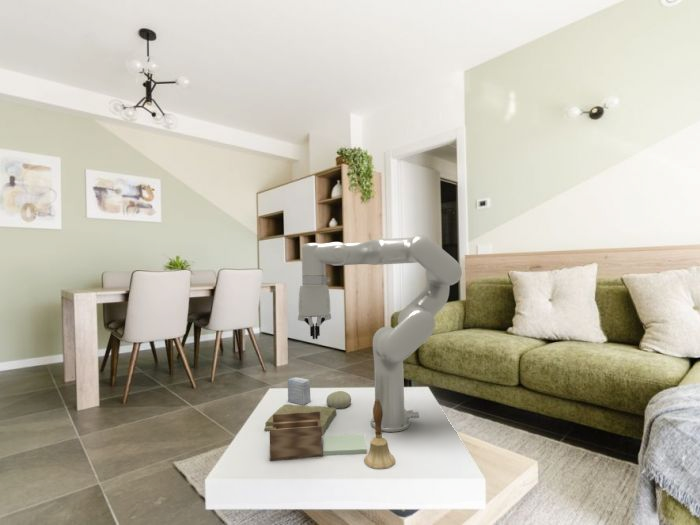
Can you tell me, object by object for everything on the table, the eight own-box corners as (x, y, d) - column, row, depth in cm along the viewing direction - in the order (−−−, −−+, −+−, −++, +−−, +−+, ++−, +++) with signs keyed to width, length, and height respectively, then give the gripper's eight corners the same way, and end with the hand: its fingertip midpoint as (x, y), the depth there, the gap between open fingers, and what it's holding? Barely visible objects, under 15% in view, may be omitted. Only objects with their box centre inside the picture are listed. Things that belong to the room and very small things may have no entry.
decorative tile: (283, 412, 134) (283, 402, 134) (336, 415, 129) (336, 405, 129) (260, 434, 115) (260, 423, 115) (321, 439, 111) (321, 427, 111)
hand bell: (362, 468, 94) (361, 405, 94) (365, 452, 102) (364, 394, 102) (395, 470, 92) (393, 406, 93) (395, 453, 101) (394, 395, 101)
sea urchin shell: (321, 398, 140) (334, 381, 142) (335, 410, 142) (348, 394, 145) (329, 406, 132) (343, 388, 134) (343, 419, 134) (357, 401, 136)
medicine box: (310, 401, 142) (310, 379, 142) (303, 405, 138) (303, 382, 138) (295, 398, 146) (294, 376, 146) (287, 402, 142) (287, 379, 142)
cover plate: (363, 439, 110) (363, 433, 110) (366, 455, 101) (366, 449, 101) (323, 441, 110) (323, 435, 110) (323, 457, 100) (323, 451, 100)
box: (320, 438, 111) (320, 411, 111) (322, 456, 100) (321, 426, 100) (273, 442, 109) (273, 414, 109) (270, 461, 98) (269, 430, 98)
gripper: (336, 280, 123) (337, 335, 122) (291, 281, 121) (292, 337, 120) (338, 281, 115) (339, 339, 115) (290, 282, 113) (291, 341, 113)
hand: (315, 338), depth 118 cm, fingers closed
